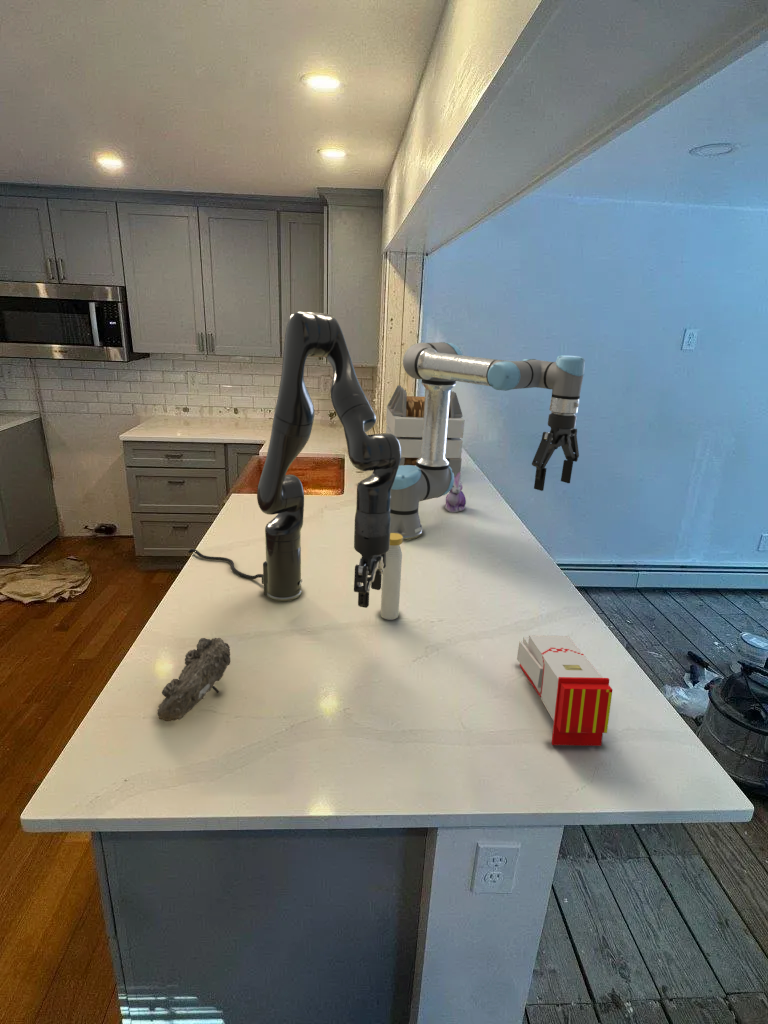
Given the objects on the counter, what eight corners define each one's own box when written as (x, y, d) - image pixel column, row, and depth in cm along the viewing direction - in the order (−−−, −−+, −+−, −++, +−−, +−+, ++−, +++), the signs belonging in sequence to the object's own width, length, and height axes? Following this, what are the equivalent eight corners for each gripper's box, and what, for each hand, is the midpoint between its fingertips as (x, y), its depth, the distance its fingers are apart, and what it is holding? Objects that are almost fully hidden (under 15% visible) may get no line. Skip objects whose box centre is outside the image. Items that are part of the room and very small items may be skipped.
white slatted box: (382, 463, 289) (386, 382, 275) (445, 464, 293) (451, 384, 279) (390, 482, 257) (394, 392, 243) (460, 483, 261) (468, 394, 247)
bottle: (385, 609, 150) (389, 532, 142) (401, 613, 148) (406, 536, 140) (377, 616, 146) (380, 538, 138) (393, 621, 144) (398, 542, 137)
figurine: (452, 514, 221) (455, 477, 216) (438, 506, 229) (441, 470, 224) (472, 511, 225) (475, 475, 220) (457, 503, 234) (460, 468, 229)
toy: (564, 619, 129) (622, 685, 100) (558, 672, 132) (613, 753, 103) (511, 618, 129) (554, 684, 100) (507, 672, 132) (547, 752, 102)
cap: (389, 537, 143) (389, 531, 142) (405, 540, 141) (405, 535, 140) (381, 543, 139) (381, 537, 138) (397, 547, 137) (397, 541, 137)
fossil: (183, 640, 124) (231, 608, 119) (213, 669, 127) (261, 639, 122) (134, 715, 105) (189, 682, 100) (171, 748, 108) (227, 717, 103)
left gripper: (366, 515, 126) (364, 580, 131) (343, 537, 113) (341, 609, 119) (399, 520, 124) (395, 586, 129) (378, 543, 111) (375, 616, 117)
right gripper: (548, 419, 148) (537, 496, 155) (598, 411, 163) (586, 482, 171) (525, 414, 153) (515, 489, 160) (575, 407, 169) (564, 476, 176)
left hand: (369, 597), depth 124 cm, fingers open, 8 cm apart
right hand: (552, 485), depth 166 cm, fingers open, 13 cm apart
